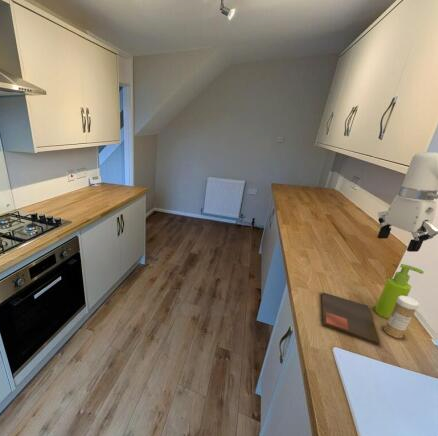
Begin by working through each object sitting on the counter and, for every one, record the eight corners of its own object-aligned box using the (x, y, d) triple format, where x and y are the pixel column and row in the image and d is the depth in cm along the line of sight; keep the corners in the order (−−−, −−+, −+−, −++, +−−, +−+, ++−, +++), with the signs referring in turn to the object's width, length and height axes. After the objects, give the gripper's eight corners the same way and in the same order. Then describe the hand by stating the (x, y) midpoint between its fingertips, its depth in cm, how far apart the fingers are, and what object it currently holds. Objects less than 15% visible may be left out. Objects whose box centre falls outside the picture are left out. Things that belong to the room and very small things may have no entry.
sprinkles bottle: (386, 325, 81) (401, 293, 76) (404, 335, 77) (421, 301, 72) (381, 331, 79) (396, 297, 74) (399, 341, 75) (416, 306, 70)
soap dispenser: (399, 323, 82) (423, 274, 75) (373, 312, 87) (393, 265, 80) (402, 315, 85) (424, 267, 78) (376, 305, 90) (395, 259, 83)
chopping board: (321, 294, 96) (322, 291, 96) (367, 308, 89) (368, 305, 88) (323, 325, 80) (324, 322, 80) (378, 345, 73) (379, 342, 73)
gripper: (464, 201, 65) (438, 257, 70) (399, 188, 81) (382, 233, 87) (438, 201, 64) (413, 257, 70) (378, 188, 81) (362, 234, 86)
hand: (396, 244), depth 78 cm, fingers open, 9 cm apart
